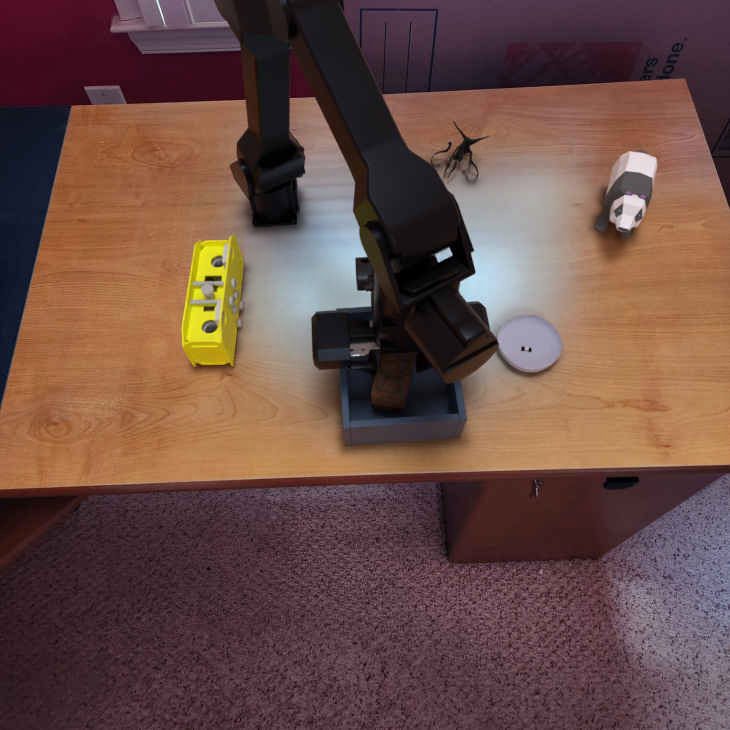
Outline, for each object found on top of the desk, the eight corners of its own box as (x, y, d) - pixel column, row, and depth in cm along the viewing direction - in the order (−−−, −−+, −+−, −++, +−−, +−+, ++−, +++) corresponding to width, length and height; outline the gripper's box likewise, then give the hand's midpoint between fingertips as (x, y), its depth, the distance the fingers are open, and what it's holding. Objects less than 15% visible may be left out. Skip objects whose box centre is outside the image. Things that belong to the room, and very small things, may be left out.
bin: (344, 445, 68) (343, 428, 63) (338, 332, 75) (335, 308, 70) (460, 437, 68) (467, 419, 63) (442, 325, 75) (447, 301, 70)
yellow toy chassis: (238, 369, 73) (223, 334, 65) (193, 369, 73) (173, 335, 65) (248, 266, 80) (236, 225, 73) (207, 267, 80) (191, 226, 73)
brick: (402, 416, 67) (405, 399, 63) (369, 408, 68) (370, 391, 64) (421, 340, 72) (425, 320, 68) (391, 333, 73) (392, 312, 68)
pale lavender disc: (557, 381, 71) (561, 374, 70) (492, 371, 72) (495, 364, 71) (558, 326, 75) (563, 319, 73) (497, 318, 76) (499, 310, 74)
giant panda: (603, 184, 87) (628, 131, 78) (641, 193, 86) (670, 141, 77) (585, 256, 80) (610, 207, 72) (625, 267, 80) (655, 219, 71)
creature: (468, 195, 87) (493, 155, 89) (469, 173, 82) (496, 131, 84) (423, 175, 89) (448, 136, 91) (421, 153, 84) (448, 112, 86)
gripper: (486, 225, 59) (464, 309, 73) (304, 235, 59) (316, 318, 72) (506, 316, 54) (478, 388, 68) (306, 329, 53) (319, 399, 67)
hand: (396, 370), depth 69 cm, fingers closed on brick, 5 cm apart
